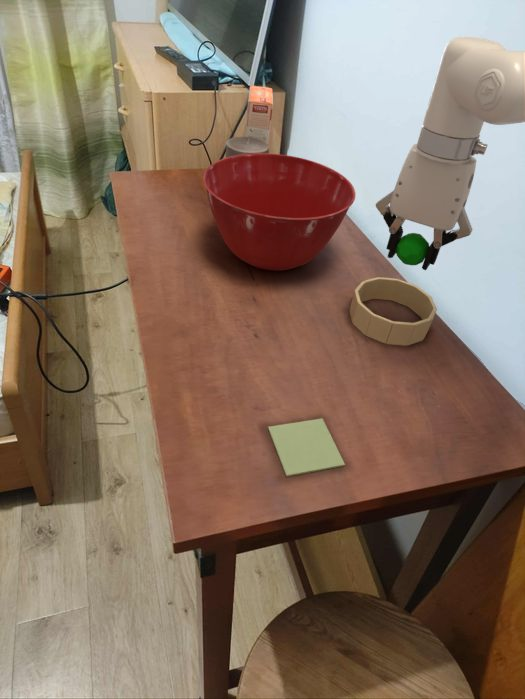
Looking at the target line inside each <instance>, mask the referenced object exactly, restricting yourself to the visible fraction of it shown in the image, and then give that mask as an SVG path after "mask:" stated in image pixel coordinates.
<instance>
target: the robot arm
mask: <svg viewBox="0 0 525 699" xmlns="http://www.w3.org/2000/svg"><path fill="white" fill-rule="evenodd" d="M436 72H437V73H436V75H435V76H436V77H435V79H434V83H433V87H432V91H431V94H430V97H429V102H428V104H427V108H426V112H425V115H424V119H423V123H422V125H421V129H420V133H419V136H418V139H417V143H414V144H413V145H412V146H411V148H410V149H409V152H408V154H407V156H406V158H405V160H404V163H403V165H402V167H401V170H400V173H399V175H398V177H397V181H396V184H395V186H394V188H393V190H392V191H390V192H389V193H387V194H386V195H385V196H383V197H382V198H380V199H379V200H378V201H377V202H376V203H375V208H376V209H377V211H378V212H379V214H380V216H382V218H383V220H384V222H385V224H386V225H387V227H388V232H389V238H388V241H387V244H386V248H385V249H386V250H388V253H387V258H388V259H393V258H394V256H395V255H396V247H397V245H398V243H399V241H400V240H401V238H402V237H403V236H404V235H403V234H404V229H403V226H404V223H405V222H406V221H410V222H412V223H416V224H419V225H423V226H426V227H429V228H432V229H433V240H432V242H431V243H430V244H429V248H428V251H427V254H426V257H425V259H424V261H423V262H422V267H421V269H422V270H423V271H427V270H428V268H429V266H430V265H433V266H434V265H435V263H436V261H437V260H438V255H439V253H440V251H441V248H442V247H444V246H446V245H448V244H451V243H453V242H454V241H457V240H461V239H463V238H466V237H469V236H470V235H471V234H472V232H473V227H472V225H471V222H470V219H469V216H468V214H467V211H466V209H465V208H466V205H467V202H468V199H469V195H470V191H471V188H472V184H473V182H474V176H475V173H476V166H477V159H476V157H474V156H475V155H482V156H485V153H486V151H487V147H488V144H487V143H483V141H481V139H480V137H481V135H480V134H481V131H482V129H483V126H484V124H485V123H487V124H490V125H494V126H505V125H514V124H522V123H525V50H507V49H506V48H505V46H504V45H503V44H501V43H500V42H497V41H494V40H490V39H486V38H481V37H473V36H457V37H453V38H452V39H450V40H449V41H448V42H447V43H446V45H445V46H444V49H443V52H442V54H441V58H440V62H439V65H438V69H437V71H436ZM456 224H458V227H459V228H457V229H454V228H455V226H456Z"/></svg>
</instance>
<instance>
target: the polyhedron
mask: <svg viewBox="0 0 525 699" xmlns="http://www.w3.org/2000/svg"><path fill="white" fill-rule="evenodd" d="M429 246H430V243H429V242H428V240H427V239H426V238H425V237H424V236H423V235H422V234H421V233H417V232H410V233H406V234H404V235H402V238H401V240H400V241H399V243H398V245H397V247H396V254H395V255H396V257H397V258H398V259H399V260H400V261H401V262H402V264H404V265H407V266H418V265H420V264H423V263H424V260H425V257H426V254H427V251H428V248H429Z"/></svg>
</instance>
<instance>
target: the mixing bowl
mask: <svg viewBox="0 0 525 699" xmlns="http://www.w3.org/2000/svg"><path fill="white" fill-rule="evenodd" d="M202 181H203V185H204V187H205V189H206V195H207V199H208V202H209V206H210V210H211V213H212V216H213V219H214V222H215V224H216V226H217V229H218V231H219V233H220V235H221V237H222V239H223V241H224V243H225V245H226V246H227V248H228V249H229V250H230V252H232V253H233V254H234V255H235V256H236V257H237V258H239V259H240V260H241V261H243V262H244V263H246V264H248V265H250V266H252V267H255V268H257V269H261V270H264V271H273V272H282V271H288V270H291V269H296V268H299V267H301V266H303V265H306V264H307V263H310V262H311V261H312V260H313V259H315V257H317V256H318V255H319V254H320V253H321V251H323V249H324V248H325V247H326V246H327V245H328V243H329V242H330V240H331V239H332V238H333V236H334V235H335V234H336V232H337V230H338V229H339V228H340V225H341V224H342V222H343V221H344V219H345V217H346V215H347V213H348V211H349V210H350V207H351V206H352V205H353V204H354V202H355V200H356V190H355V187H354V185H353V183H351V182H350V180H348V178H347V177H346V176H344V175H343V174H341V173H339V172H338V171H337V170H335V169H333V168H331V167H329V166H327V165H325V164H322V163H319V162H317V161H313V160H310V159H307V158H302V157H298V156H293V155H287V154H280V153H270V152H269V153H252V154H242V155H235V156H231V157H227V158H226V157H224V158H222V159H218V160H216V161H215V162H213V163H211V164H210V165H209V166H207V168H206V169H205V171H204V173H203V175H202Z"/></svg>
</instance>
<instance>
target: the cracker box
mask: <svg viewBox="0 0 525 699" xmlns="http://www.w3.org/2000/svg"><path fill="white" fill-rule="evenodd" d="M246 106H247V107H246V116H245V117H246V118H245V128H244V137H251V138H256V139H260V140H262V141H264V142H266V143H267V144H268V145H269V140H270V132H271V123H272V116H273V107H274V98H273V88H271V87H268V86H256V85H249V91H248V98H247V105H246Z"/></svg>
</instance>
